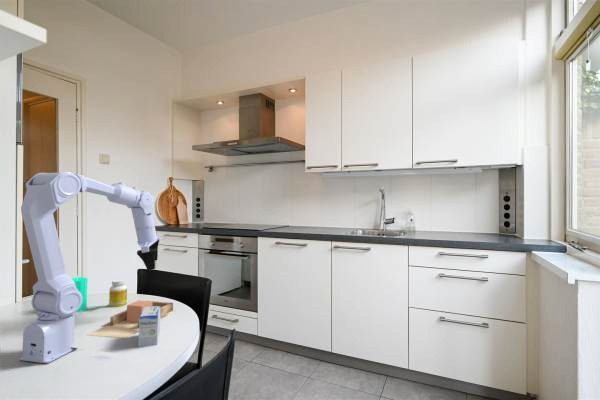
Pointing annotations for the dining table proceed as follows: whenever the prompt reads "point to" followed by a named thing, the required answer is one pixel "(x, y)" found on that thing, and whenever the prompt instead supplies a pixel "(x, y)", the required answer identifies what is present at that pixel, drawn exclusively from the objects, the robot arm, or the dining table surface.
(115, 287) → the supplement bottle
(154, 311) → the medicine box
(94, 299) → the dining table surface
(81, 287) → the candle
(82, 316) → the dining table surface
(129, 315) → the block
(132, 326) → the tray
